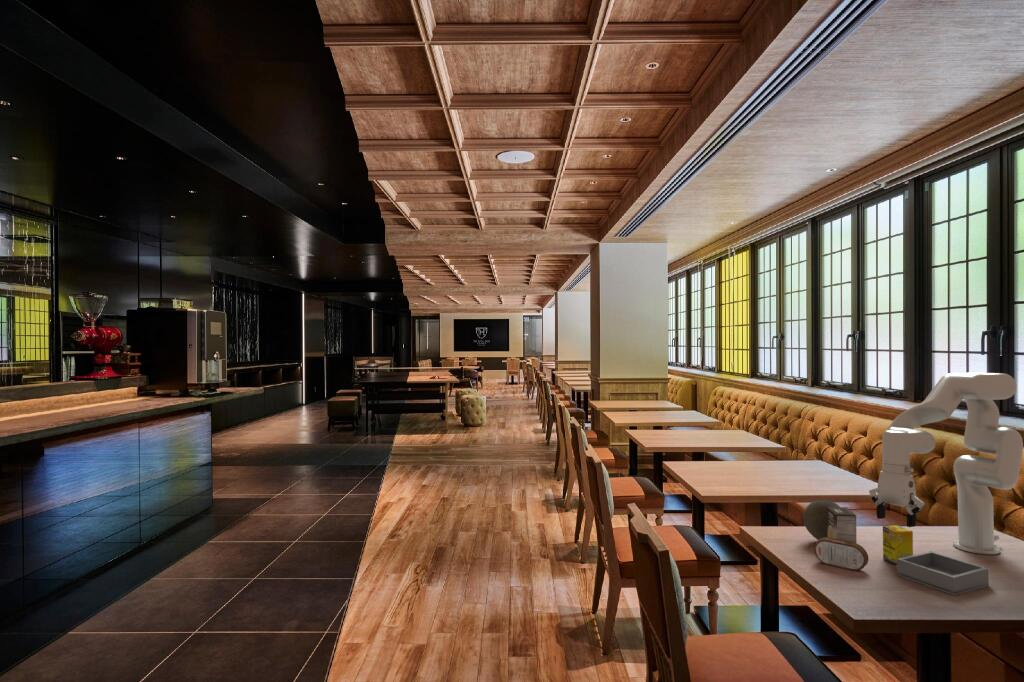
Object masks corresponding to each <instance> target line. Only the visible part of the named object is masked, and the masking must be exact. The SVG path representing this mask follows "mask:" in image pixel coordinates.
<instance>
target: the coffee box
mask: <svg viewBox="0 0 1024 682" xmlns="http://www.w3.org/2000/svg"><path fill="white" fill-rule="evenodd" d="M827 528H828V537H830V538H834V539H839V540H844V541H849V542H854V543H857V514H855V513H854V512H853V511H852V510H850V508H848V507H846V506H845V507H841V506H840V507H827Z"/></svg>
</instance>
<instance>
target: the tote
mask: <svg viewBox="0 0 1024 682" xmlns="http://www.w3.org/2000/svg"><path fill="white" fill-rule="evenodd" d="M897 575H898V577H900V576H901V577H900V578H902V579H903V578H904V579H906V580H909V581H911V580H912V581H911V582H914V581H915V582H916V583H917V582H918V583H917V584H920V583H921V584H920V585H923V584H924V585H923V586H926V585H927V586H926V587H928V586H930V587H929V588H931V587H932V589H934V588H935V589H934V590H937V589H938V591H940V590H941V591H940V592H943V593H945V592H946V594H948V593H949V595H951V594H952V596H954V595H955V596H957V595H958V594H959V595H963V594H965V592H966V593H969V592H972V591H975V590H976V591H977V590H979V589H982V588H986V587H989V585H990V582H989V581H990V580H989V577H990V576H989V568H988V567H985V566H983V565H982V566H981V565H979V564H975V563H971V562H969V561H966V560H962V559H958V558H954V557H951V556H949V555H944V554H941V553H939V552H938V553H937V552H935V551H932V550H930V551H925V552H921V553H917V554H913V555H911V556H907V557H903V558H899V559H897V566H896V576H897ZM915 582H914V583H915Z"/></svg>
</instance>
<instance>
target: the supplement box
mask: <svg viewBox="0 0 1024 682" xmlns="http://www.w3.org/2000/svg"><path fill="white" fill-rule="evenodd" d="M913 533H914V532H913V530H910V529H908V528H905V527H903V526H901V525H900V524H899V525H883V526H882V559H883V560H884V559H885V560H884V561H887V562H888V561H889V563H890V562H891V564H892V563H893V565H894V564H895V565H894V566H896V565H897V559H899V558H903V557H907V556H911V555H914V534H913Z"/></svg>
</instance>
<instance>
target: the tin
mask: <svg viewBox="0 0 1024 682" xmlns="http://www.w3.org/2000/svg"><path fill="white" fill-rule="evenodd" d="M813 550H814V554H815V557H816V558H817V559H818V560H819V561H820V562H821V563H823V564H824V565H828V566H832V567H835V566H836V568H840V567H841V568H840V569H844V568H845V570H848V569H850V570H849V571H853V570H854V571H853V572H856V571H857V572H858V571H861V570H863V569H864V568H865V567H867V565H868V563H869V554H868V552H867V550H866V548H864V547H863V546H862V545H860V544H859V543H857V542H856V543H854V542H849V541H844V540H839V539H834V538H830V537H823V538H821V539H819V540H817V541H816V543H815V544H814V547H813Z"/></svg>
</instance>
